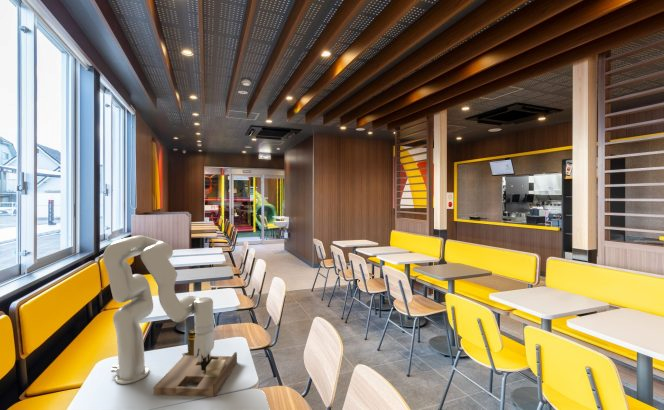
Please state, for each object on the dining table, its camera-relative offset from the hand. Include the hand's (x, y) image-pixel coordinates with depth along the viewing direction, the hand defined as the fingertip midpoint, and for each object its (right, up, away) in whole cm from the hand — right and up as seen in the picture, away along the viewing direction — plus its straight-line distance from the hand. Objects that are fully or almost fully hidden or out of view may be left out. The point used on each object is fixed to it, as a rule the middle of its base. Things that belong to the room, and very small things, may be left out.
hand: (205, 369), depth 141 cm
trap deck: (-3, -4, 0) cm, 5 cm away
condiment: (-14, -3, +19) cm, 24 cm away
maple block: (+5, -1, 0) cm, 5 cm away
